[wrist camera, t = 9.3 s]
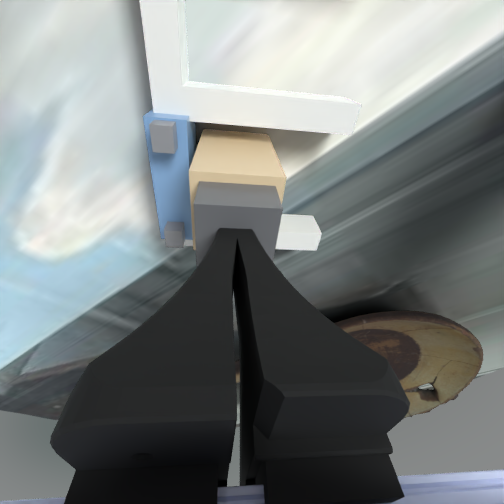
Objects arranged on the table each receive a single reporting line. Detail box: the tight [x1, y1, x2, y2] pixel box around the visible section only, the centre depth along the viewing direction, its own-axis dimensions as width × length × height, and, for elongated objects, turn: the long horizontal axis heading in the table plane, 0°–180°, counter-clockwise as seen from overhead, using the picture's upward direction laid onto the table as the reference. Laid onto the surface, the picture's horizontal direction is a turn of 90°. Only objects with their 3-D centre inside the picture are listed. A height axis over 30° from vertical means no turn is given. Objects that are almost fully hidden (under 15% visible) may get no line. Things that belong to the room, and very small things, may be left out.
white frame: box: [139, 0, 362, 251], centre depth 11 cm, size 11×26×4 cm, turn 175°
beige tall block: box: [189, 129, 286, 267], centre depth 14 cm, size 4×4×9 cm
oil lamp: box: [235, 311, 483, 418], centre depth 28 cm, size 22×30×8 cm
